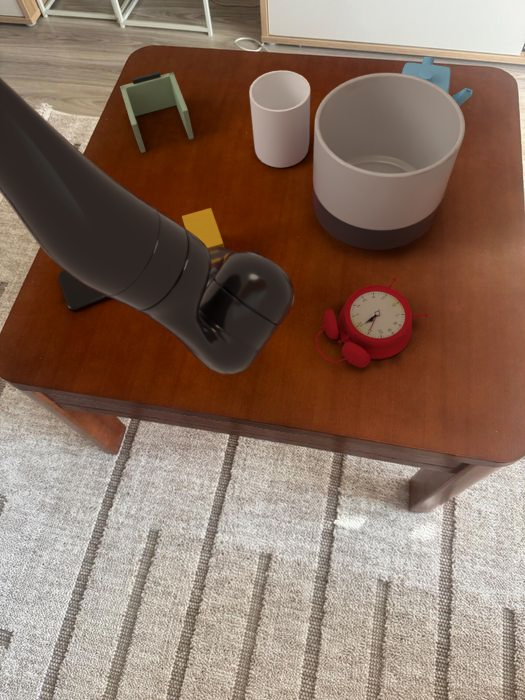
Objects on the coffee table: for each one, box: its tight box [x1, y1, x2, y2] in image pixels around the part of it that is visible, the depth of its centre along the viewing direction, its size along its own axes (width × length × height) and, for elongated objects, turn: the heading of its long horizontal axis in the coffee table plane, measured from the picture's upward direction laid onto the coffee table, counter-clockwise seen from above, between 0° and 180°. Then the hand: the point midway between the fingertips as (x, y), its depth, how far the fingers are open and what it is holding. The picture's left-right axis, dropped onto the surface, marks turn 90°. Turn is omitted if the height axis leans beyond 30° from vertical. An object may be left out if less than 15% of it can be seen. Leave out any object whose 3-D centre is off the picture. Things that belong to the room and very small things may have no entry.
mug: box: [248, 70, 311, 169], centre depth 87 cm, size 10×12×12 cm
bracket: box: [119, 71, 195, 154], centre depth 93 cm, size 11×10×7 cm
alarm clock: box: [314, 277, 429, 368], centre depth 73 cm, size 10×6×15 cm
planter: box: [311, 72, 466, 251], centre depth 76 cm, size 19×19×18 cm
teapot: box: [400, 56, 474, 107], centre depth 88 cm, size 18×14×10 cm
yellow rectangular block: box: [181, 207, 225, 248], centre depth 79 cm, size 7×5×7 cm, turn 17°
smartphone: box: [57, 269, 110, 312], centre depth 81 cm, size 8×1×16 cm
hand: (210, 264), depth 77 cm, fingers closed
